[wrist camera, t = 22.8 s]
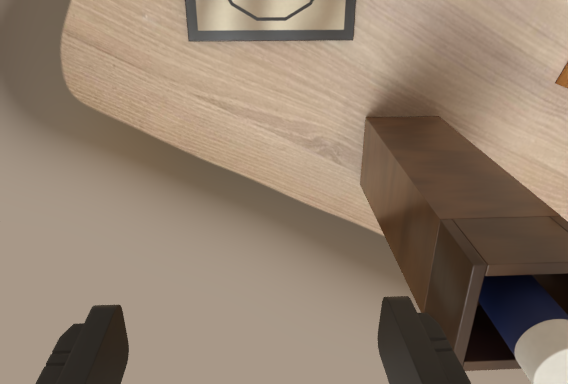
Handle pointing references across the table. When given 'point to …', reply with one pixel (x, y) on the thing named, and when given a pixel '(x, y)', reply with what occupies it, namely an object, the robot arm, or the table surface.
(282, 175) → the table surface
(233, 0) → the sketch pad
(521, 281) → the blue bottle
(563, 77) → the board
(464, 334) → the tall wooden vase
